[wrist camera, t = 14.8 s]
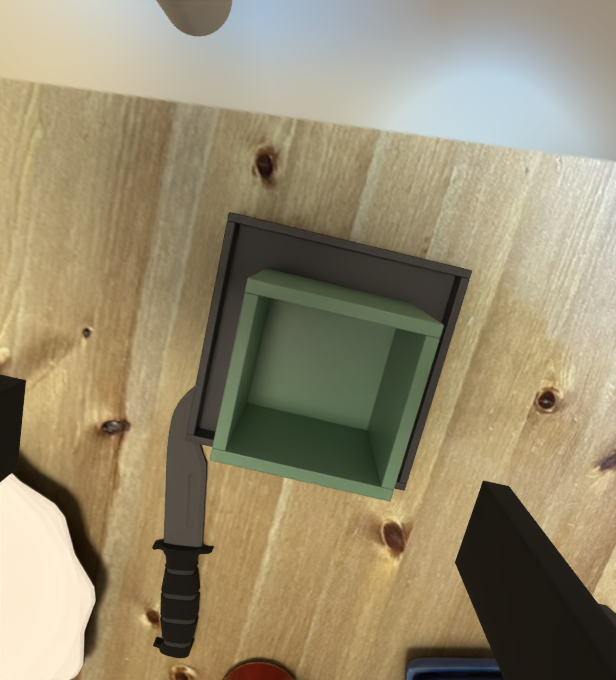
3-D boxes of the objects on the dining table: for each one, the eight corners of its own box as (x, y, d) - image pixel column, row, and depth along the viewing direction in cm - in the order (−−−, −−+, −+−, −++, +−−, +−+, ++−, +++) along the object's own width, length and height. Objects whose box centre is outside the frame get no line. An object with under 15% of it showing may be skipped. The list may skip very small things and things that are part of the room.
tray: (234, 213, 34) (228, 211, 32) (463, 268, 34) (472, 270, 32) (192, 430, 37) (184, 440, 35) (399, 477, 38) (404, 491, 36)
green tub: (266, 268, 34) (247, 277, 25) (412, 303, 34) (444, 324, 25) (236, 407, 36) (209, 460, 27) (373, 439, 37) (390, 501, 28)
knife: (155, 378, 35) (220, 384, 35) (162, 372, 37) (224, 378, 37) (147, 655, 41) (204, 661, 41) (153, 640, 42) (208, 646, 42)
